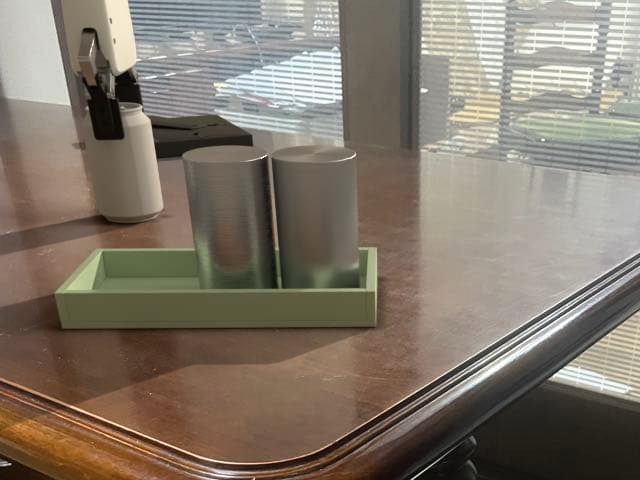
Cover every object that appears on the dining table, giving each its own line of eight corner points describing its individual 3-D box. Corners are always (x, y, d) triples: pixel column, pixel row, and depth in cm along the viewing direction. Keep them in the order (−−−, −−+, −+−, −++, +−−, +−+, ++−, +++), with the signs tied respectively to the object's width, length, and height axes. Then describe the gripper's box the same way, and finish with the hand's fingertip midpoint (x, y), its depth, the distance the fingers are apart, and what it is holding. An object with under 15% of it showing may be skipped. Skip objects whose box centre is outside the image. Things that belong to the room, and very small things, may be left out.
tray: (62, 329, 74) (53, 293, 72) (101, 280, 84) (95, 248, 83) (376, 327, 74) (375, 291, 73) (377, 279, 85) (376, 247, 83)
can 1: (149, 205, 108) (132, 97, 101) (175, 218, 103) (158, 105, 96) (90, 214, 105) (68, 103, 98) (113, 228, 100) (92, 112, 93)
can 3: (278, 309, 76) (266, 162, 69) (286, 283, 82) (275, 145, 75) (359, 308, 76) (354, 162, 70) (360, 282, 82) (356, 145, 75)
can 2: (195, 309, 76) (174, 162, 69) (208, 283, 82) (190, 145, 75) (275, 309, 76) (262, 162, 69) (283, 283, 82) (272, 145, 75)
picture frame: (126, 135, 147) (152, 158, 131) (123, 116, 145) (149, 137, 130) (218, 127, 152) (253, 149, 137) (216, 109, 151) (251, 129, 135)
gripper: (75, -54, 96) (108, 117, 106) (21, -49, 82) (65, 147, 92) (143, -55, 96) (170, 116, 106) (102, -51, 82) (137, 146, 92)
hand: (121, 130), depth 99 cm, fingers open, 9 cm apart
